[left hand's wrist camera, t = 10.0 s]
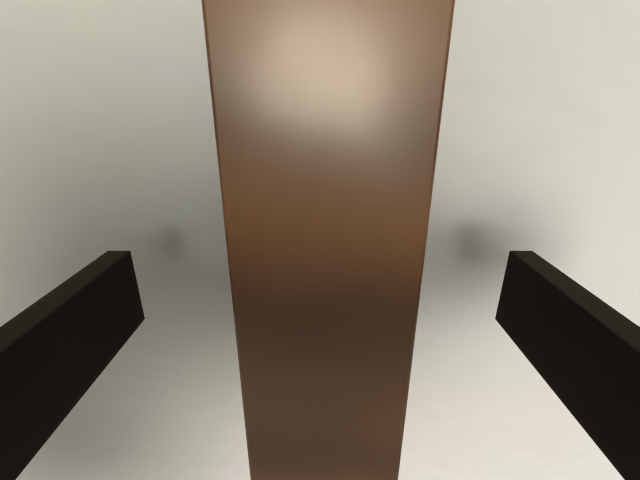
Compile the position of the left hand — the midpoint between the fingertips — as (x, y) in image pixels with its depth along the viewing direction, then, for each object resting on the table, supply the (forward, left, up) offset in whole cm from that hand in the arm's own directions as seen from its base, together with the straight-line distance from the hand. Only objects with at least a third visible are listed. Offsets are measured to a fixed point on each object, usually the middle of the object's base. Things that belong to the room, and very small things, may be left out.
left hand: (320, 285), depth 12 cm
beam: (+7, +21, -4) cm, 23 cm away
